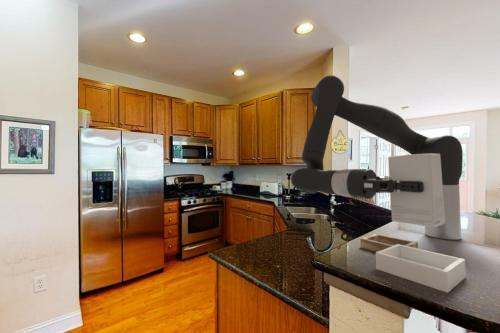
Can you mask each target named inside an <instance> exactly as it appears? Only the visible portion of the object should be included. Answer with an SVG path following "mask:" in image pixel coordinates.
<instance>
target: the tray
mask: <svg viewBox="0 0 500 333" xmlns="http://www.w3.org/2000/svg"><path fill="white" fill-rule="evenodd" d="M375 269H376V270H377V271H381V272H385V273H388V274H389V275H394V276H397V277H399V278H402V279H404V280H405V279H406V280H409V281H412V282H414V283H417V284H420V285H422V286H425V287H430V288H432V289H435V290H438V291H441V292H444V293H447V294H449V292H451V291H452V290H453V289H454V288H455V287H456V286H457V285H458V284H459V283H461V282H462V281H463V280H465V279H466V278H467V275H466V272H467V271H466V270H467V269H466V259H464V258H460V257H456V256H452V255H447V254H443V253H438V252H434V251H430V250H427V249H421V248H418V249H417V248H413V247H409V246H404V245H400V244H397V245H394V246H391V247H389V248H386V249H384V250H381V251H378V252H376V251H375Z"/></svg>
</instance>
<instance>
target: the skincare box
mask: <svg viewBox="0 0 500 333" xmlns="http://www.w3.org/2000/svg"><path fill="white" fill-rule="evenodd" d="M387 159H388V174H389V175H388V176H389V178H392V180H401V181H421V182H423V184H424V191H423V192H420V193H419V192H404V191H402V190H401V192H392V193H389V194H390V196H389V197H390V211H391V221H392V222H395V223H402V224H408V225H417V226H422V227H423V226H424V227H425V226H427V227H437V226H442V225H444V223H445V213H444V199H443V185H442V171H441V159H440V154H413V155H412V154H405V155H393V156H388V158H387ZM401 183H402V182H401Z"/></svg>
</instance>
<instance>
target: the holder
mask: <svg viewBox="0 0 500 333" xmlns="http://www.w3.org/2000/svg"><path fill="white" fill-rule="evenodd" d="M359 240H360V248H361V249H365V250H369V251H373V252H375V253H376V252H378V251H381V250H384V249H386V248H389V247H391V246H394V245H397V244H400V245H404V246H409V247H413V248H417V249H419V242H418V241H413V240H409V239H404V238H398V237H394V236H389V235H385V234H380V233H379V234H378V233H374V234H371V235H367V236H365V237H361V238H360V239H359Z"/></svg>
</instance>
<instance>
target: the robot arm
mask: <svg viewBox="0 0 500 333" xmlns="http://www.w3.org/2000/svg"><path fill="white" fill-rule="evenodd" d="M344 92H345V86H344V82H343V81H342V79H341V78H340V77H339V76H337V75H333V74H332V75H331V74H330V75H326V76H324V77H323V78H321V79H320V80H319V82H318V83H317V84H316V86H315V87H314V89H313V91H312V92H311V94H310V99H311V103H312V104H313V106H314V107H316V109H315V112H314V116H313V119H312V122H311V124H310V128H309V130H308V132H307V135H306V138H305V141H304V145H303V150H302V153H301V160H302V161H303V163H304V164H305V165H306V167H302V168H298V169H296V170H295V171H294V172H293V173H292V174H291V177H290V182H291V185H292V186H293V187H294V188H295V189H296V190H299V191H302V192H306V193H308V194H312V195H313V194H316V193H318V192H320V193H323V194H327V195H335V196H336V195H337V196H342V197H349V198H358V199H373V198H374V197H375V196H376V195H377V194H384V193H385V194H390V193H392V192H401V190H402V191H404V192H419V193H420V192H423V191H424V184H423V182H421V181H401V180H392V178H389V175H381V176H380V175H379V176H378V175H377V174H376V172H375V171H374V170H373V169H370V168H352V169H351V168H347V169H345V168H344V169H335V170H333V169H332V170H331V169H329V170H325V169H324V158H325V154H326V153H325V152H326V150H327V145H328V140H329V137H330V136H329V135H330V131H331V129H332V128H331V127H332V125H333V121H334V118H335V116H336V117H339V118H341V119H343V120H345V121H348V122H349V123H351V124H352V125H355V126H357V127H358V128H361V129H362V130H364V131H366V132H368V133H369V134H371V135H374V136H376V137H378V138H380V139H381V140H384V141H386V142H387V143H390V144H392V145H394V146H396V147H398V148H400V149H403V150H404V151H406V152H407V153H408V154H409V155H413V154H440V159H441V171H442V185H443V199H444V213H445V223H444V225H442V226H437V227H427V226H424V234H425V235H426V236H427V237H431V238H436V239H441V240H451V241H452V240H454V241H455V240H461V239H462V227H461V226H462V224H461V223H462V222H461V219H462V218H461V201H460V200H461V198H460V197H461V196H460V193H461V192H460V179H461V177H462V174H463V157H464V155H463V152H464V151H463V146H462V143H461V142H460V140H459V139H458V138H457V137H455V136H454V135H440V136H436V137H428V136H425V135H423V134H421V133H419V132H416V131H414V130H412V128H411V127H409V125H408V123H407V122H406V121H405V120H404V119H403V118H402V116H400V115H399V114H397V113H396V112H394V111H392V110H390V109H388V108H386V107H385V106H381V105H378V104H374V103H368V102H367V103H366V102H359V101H354V100H351V99H349V98H347V97H344V96H343V95H344ZM401 182H402V183H401Z"/></svg>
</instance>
